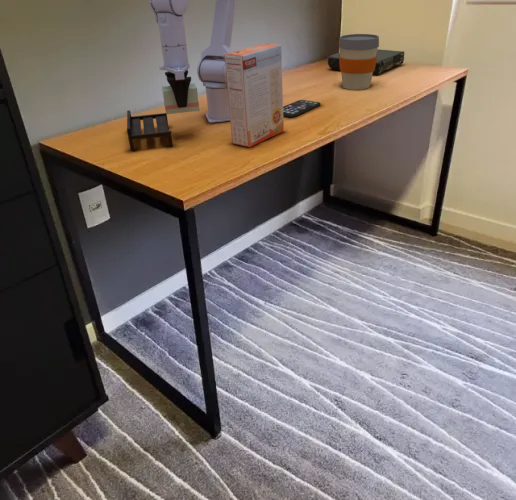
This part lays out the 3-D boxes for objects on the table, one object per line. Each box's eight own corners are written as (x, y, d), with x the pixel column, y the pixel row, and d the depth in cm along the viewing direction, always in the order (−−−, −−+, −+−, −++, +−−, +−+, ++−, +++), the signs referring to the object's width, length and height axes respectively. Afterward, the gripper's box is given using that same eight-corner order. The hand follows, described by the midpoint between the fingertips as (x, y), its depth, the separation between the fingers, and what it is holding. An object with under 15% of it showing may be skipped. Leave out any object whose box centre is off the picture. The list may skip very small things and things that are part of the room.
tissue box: (196, 105, 124) (194, 80, 120) (199, 110, 119) (196, 84, 116) (165, 108, 122) (161, 83, 119) (166, 114, 118) (162, 87, 115)
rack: (168, 126, 132) (165, 106, 129) (172, 146, 118) (169, 124, 115) (130, 131, 130) (126, 110, 128) (131, 151, 117) (126, 129, 114)
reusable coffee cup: (329, 86, 162) (330, 37, 154) (355, 79, 168) (358, 32, 160) (356, 93, 153) (360, 41, 145) (383, 85, 159) (388, 36, 151)
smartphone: (321, 102, 143) (292, 115, 133) (321, 105, 143) (292, 117, 134) (300, 99, 147) (270, 111, 137) (300, 101, 147) (270, 113, 138)
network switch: (384, 76, 170) (386, 61, 167) (323, 71, 181) (324, 57, 178) (405, 63, 187) (407, 49, 184) (348, 59, 198) (349, 46, 195)
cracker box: (266, 128, 127) (262, 42, 116) (284, 132, 124) (283, 44, 113) (230, 143, 118) (223, 52, 107) (249, 148, 115) (243, 54, 104)
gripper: (154, 41, 118) (163, 98, 125) (158, 51, 106) (167, 113, 113) (184, 39, 119) (190, 95, 127) (190, 48, 107) (197, 110, 115)
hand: (181, 104), depth 120 cm, fingers closed on tissue box, 5 cm apart
